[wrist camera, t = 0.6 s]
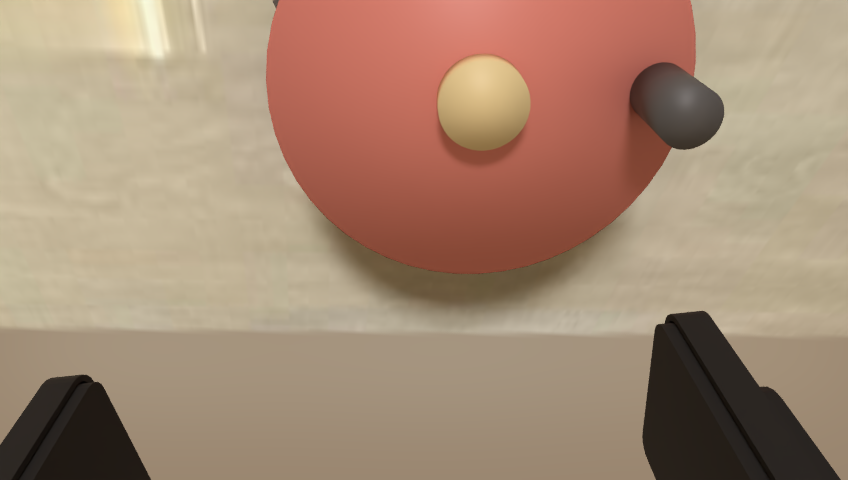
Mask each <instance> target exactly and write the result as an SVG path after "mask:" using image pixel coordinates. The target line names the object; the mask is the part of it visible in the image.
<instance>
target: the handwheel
mask: <svg viewBox="0 0 848 480" xmlns="http://www.w3.org/2000/svg"><path fill="white" fill-rule="evenodd" d="M695 62H696V49H695V27H694V20H693V12H692V5H691V2H690V0H279V2H278V5H277V8H276V11H275V15H274V18H273V21H272V26H271V32H270V37H269V43H268V49H267V69H266V84H267V94H268V104H269V110H270V114H271V118H272V123H273V127H274V131H275V135H276V137H277V140H278V143H279V145H280V148H281V150H282V153H283V156H284V158H285V160H286V162H287V164H288V166H289V167H290V169H291V171H292V173H293V175H294V177H295V179H296V180H297V182H298V183H299V185H300V186H301V187H302V189H303V190H304V192H305V193H306V194H307V196H308V197H309V199H310V200H311V201H312V202H313V203H314V204H315V206H316V207H317V208H318V209H319V210H320V211H321V212H322V213H323V214H324V215H325V216H326V217H327V218H328V219H329V220H330V221H331V222H332V223H333V224H335V225H336V226H337V227H338V228H339V229H341V230H342V231H343V232H344V233H345V234H347V235H348V236H350V237H351V238H353V239H354V240H356V241H357V242H359V243H360V244H362V245H363V246H365V247H367V248H369V249H371V250H373V251H375V252H377V253H379V254H381V255H383V256H385V257H387V258H390V259H393V260H395V261H398V262H401V263H404V264H406V265H409V266H414V267H418V268H422V269H426V270H431V271H438V272H447V273H456V274H480V273H491V272H501V271H506V270H511V269H516V268H520V267H525V266H528V265H531V264H534V263H538V262H541V261H544V260H547V259H549V258H552V257H554V256H556V255H558V254H561V253H563V252H565V251H567V250H570V249H571V248H573V247H575V246H577V245H578V244H580V243H582V242H584V241H585V240H587V239H589V238H591V237H592V236H593V235H595V234H596V233H598V232H599V231H600V230H602V229H603V228H604V227H606V226H607V225H609V224H610V223H611V222H612V221H614V220H615V219H616V218H617V217H618V216H619V215H620V214H621V213H622V212H623V211H625V210H626V209H627V208H628V207H629V206H630V205H631V204H632V203H633V202H634V200H635V199H636V198H637V197H638V196H639V195H640V194H641V193H642V191H643V190H644V189H645V188H646V187H647V186H648V184H649V183H650V181H651V180H652V179H653V177H654V176H655V174H656V173H657V171H658V170H659V169H660V167H661V166H662V164H663V162H664V161H665V159H666V157H667V155H668V153H669V151H670V150H671V148H672V147H673V148H676V149H683V150H685V149H692V148H695V147H698V146H700V145H702V144H704V143H706V142H707V141H708V140H710V139H711V138H712V137H713V136H714V135H715V134H716V132H717V131H718V129H719V128H720V126H721V123H722V121H723V117H724V105H723V102H722V100H721V98H720V97H719V95H718V94H717V93H715V92H714V91H713V90H711V89H710V88H708V87H707V86H706V85H704V84H703V83H701V82H700V81H698V80H697V79H696V78H694V70H695Z"/></svg>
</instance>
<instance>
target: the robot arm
mask: <svg viewBox="0 0 848 480" xmlns="http://www.w3.org/2000/svg"><path fill="white" fill-rule="evenodd" d="M643 445H644V450H645V454H646V457H647V459H648V462H649V464H650V466H651V469H652V471H653V473H654V476H655V478H656V480H840V478H839V477H838V475H837V474H836V473H835V471H834V470H833V468H832V467H831V466H830V464H829V463H828V462H827V460H826V459H825V457H824V456H823V455H822V453H821V452H820V450H819V449H818V448H817V446H816V445H815V444H814V442H813V441H812V440H811V438H810V437H809V435H808V434H807V433H806V431H805V430H804V429H803V427H802V426H801V424H800V423H799V422H798V420H797V419H796V417H795V416H794V415H793V413H792V412H791V410H790V409H789V408H788V407H787V405H786V404H785V402H784V401H783V399H782V398H781V397H780V396H779V395H778V394H777V393H776V392H775V391H774V390H773V389H771V388H769V387H759V386H758V384H757V383H756V381H755V380H754V378H753V377H752V375H751V374H750V373H749V371H748V370H747V368H746V367H745V366H744V364H743V363H742V361H741V360H740V358H739V357H738V356H737V354H736V353H735V351H734V350H733V348H732V347H731V345H730V344H729V343H728V341H727V340H726V338H725V337H724V335H723V334H722V332H721V331H720V330H719V328H718V327H717V325H716V324H715V322H714V321H713V320H712V318H711V317H710V316H709V314H708V313H707V312H705V311H697V312H687V313H677V314H670V315H668V316H667V317H666V320H665V324H658V325H657V326H656V328H655V333H654V341H653V350H652V358H651V367H650V376H649V384H648V392H647V401H646V409H645V418H644V426H643ZM0 480H151V479H150V477H149V475H148V473H147V471H146V469H145V467H144V465H143V463H142V462H141V459H140V458H139V456H138V453H137V452H136V450H135V448H134V446H133V444H132V442H131V440H130V438H129V436H128V434H127V432H126V430H125V428H124V427H123V424H122V422H121V421H120V418H119V416H118V415H117V413H116V411H115V409H114V407H113V405H112V403H111V401H110V399H109V397H108V395H107V393H106V391H105V389H104V387H103V386H102V384H100V383H99V382H94V381H93V380H92V378H91V377H89V376H88V375H75V376H65V377H56V378H50V379H48V380H46V381H45V382H44V383H43V384H42V385H41V387H40V388H39V390H38V391H37V393H36V394H35V396H34V397H33V398H32V400H31V402H30V403H29V405H28V406H27V407H26V409H25V410H24V411H23V413H22V415H21V416H20V417H19V419H18V420H17V422H16V423H15V424H14V426H13V427H12V429H11V430H10V432H9V433H8V435H7V436H6V438H5V439H4V440H3V442H2V443H1V445H0Z"/></svg>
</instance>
